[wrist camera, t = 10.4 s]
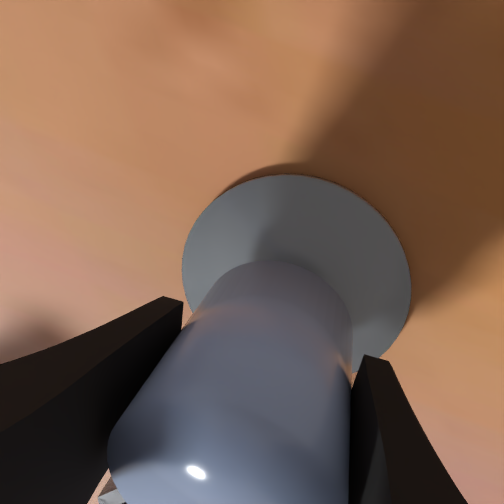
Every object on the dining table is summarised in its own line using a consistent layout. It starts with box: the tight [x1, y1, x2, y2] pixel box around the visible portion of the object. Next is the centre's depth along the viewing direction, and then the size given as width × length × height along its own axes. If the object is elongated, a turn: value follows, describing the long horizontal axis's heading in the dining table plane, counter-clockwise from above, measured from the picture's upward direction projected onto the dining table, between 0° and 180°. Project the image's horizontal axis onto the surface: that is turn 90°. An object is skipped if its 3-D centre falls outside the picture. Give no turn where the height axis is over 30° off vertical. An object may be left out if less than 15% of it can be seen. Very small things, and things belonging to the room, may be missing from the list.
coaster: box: [182, 174, 411, 373], centre depth 14 cm, size 8×8×1 cm
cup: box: [107, 260, 353, 504], centre depth 10 cm, size 6×5×6 cm
